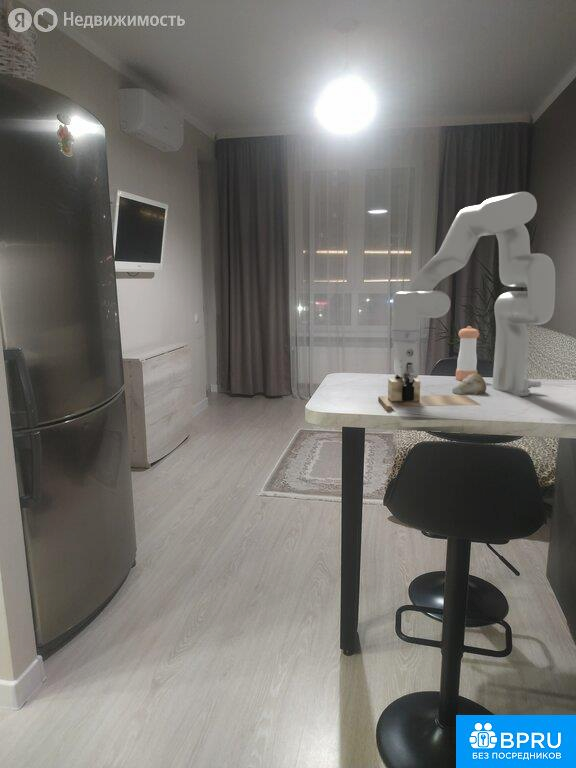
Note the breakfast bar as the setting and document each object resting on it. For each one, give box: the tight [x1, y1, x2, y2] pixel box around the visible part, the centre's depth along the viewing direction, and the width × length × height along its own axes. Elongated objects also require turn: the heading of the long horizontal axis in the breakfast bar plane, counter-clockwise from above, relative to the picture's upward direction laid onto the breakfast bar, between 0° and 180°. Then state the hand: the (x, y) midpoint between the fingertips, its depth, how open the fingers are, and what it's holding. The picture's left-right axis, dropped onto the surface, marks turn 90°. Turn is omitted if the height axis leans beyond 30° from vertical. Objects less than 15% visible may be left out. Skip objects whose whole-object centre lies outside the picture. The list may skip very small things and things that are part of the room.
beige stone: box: [451, 373, 487, 395], centre depth 157 cm, size 8×10×10 cm
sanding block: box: [387, 378, 421, 403], centre depth 146 cm, size 8×4×6 cm, turn 91°
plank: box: [377, 394, 481, 412], centre depth 147 cm, size 26×12×2 cm, turn 91°
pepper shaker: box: [455, 325, 480, 382], centre depth 183 cm, size 7×7×19 cm
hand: (403, 396), depth 146 cm, fingers open, 9 cm apart
